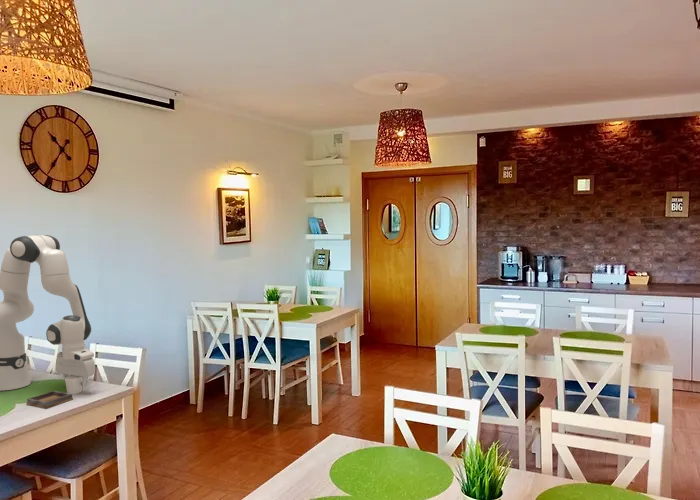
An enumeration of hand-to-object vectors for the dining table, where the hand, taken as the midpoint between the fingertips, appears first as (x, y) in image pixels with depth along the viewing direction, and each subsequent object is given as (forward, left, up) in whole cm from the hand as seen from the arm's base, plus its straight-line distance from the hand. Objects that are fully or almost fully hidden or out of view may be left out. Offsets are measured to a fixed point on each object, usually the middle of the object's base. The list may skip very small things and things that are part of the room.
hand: (75, 384), depth 238 cm
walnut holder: (+2, -14, -3) cm, 14 cm away
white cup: (0, -1, -3) cm, 3 cm away
